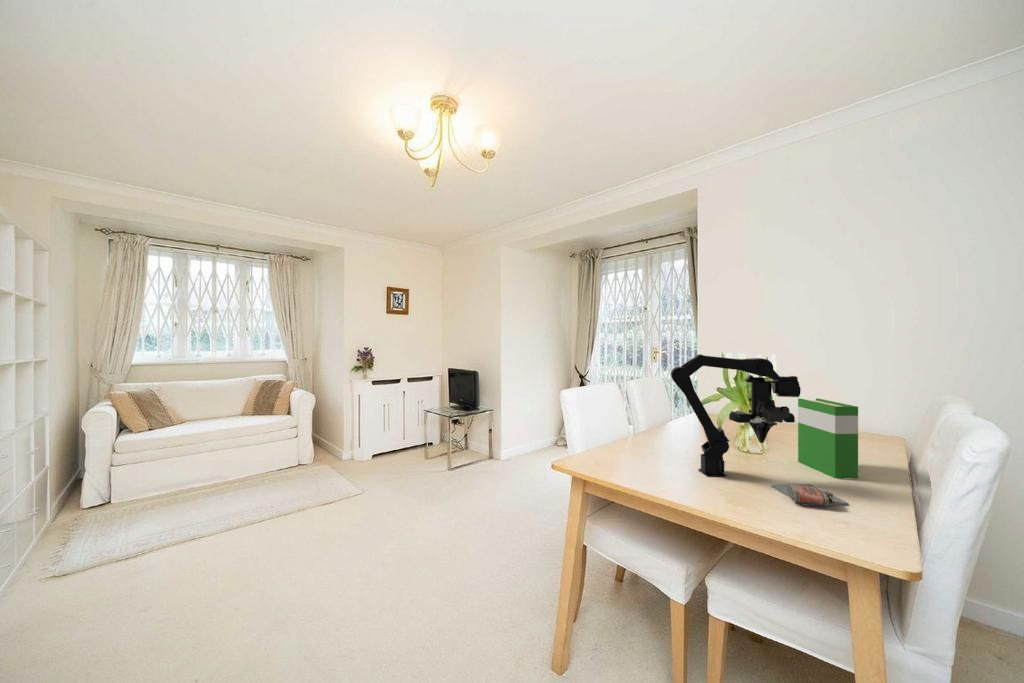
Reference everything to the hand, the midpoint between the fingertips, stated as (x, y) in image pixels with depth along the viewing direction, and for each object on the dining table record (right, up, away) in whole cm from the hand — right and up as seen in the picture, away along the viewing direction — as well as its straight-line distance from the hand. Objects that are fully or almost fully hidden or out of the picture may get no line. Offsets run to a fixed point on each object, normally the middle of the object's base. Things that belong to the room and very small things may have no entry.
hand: (761, 442), depth 130 cm
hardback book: (+28, -12, +8) cm, 32 cm away
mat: (+5, -12, -14) cm, 19 cm away
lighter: (-3, -10, -18) cm, 20 cm away
